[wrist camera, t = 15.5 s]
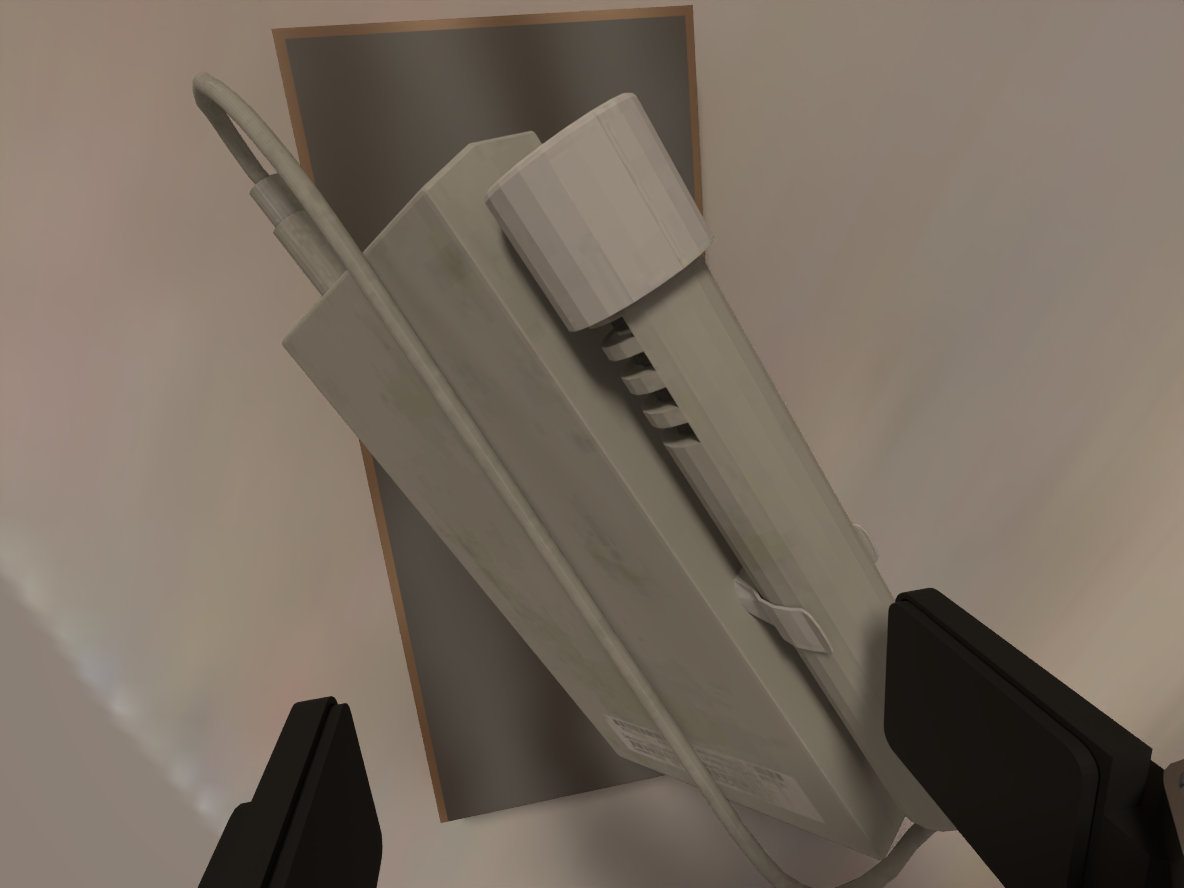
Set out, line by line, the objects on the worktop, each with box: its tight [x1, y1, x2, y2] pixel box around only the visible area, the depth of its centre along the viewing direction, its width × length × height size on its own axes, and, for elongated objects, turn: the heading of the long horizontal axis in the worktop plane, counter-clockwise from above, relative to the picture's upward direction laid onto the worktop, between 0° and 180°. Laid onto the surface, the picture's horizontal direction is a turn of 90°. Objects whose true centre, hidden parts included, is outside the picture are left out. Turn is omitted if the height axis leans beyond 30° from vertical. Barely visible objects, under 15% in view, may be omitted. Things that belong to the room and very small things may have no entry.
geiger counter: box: [193, 73, 957, 888], centre depth 17 cm, size 14×6×25 cm
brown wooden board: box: [272, 5, 705, 823], centre depth 25 cm, size 13×30×2 cm, turn 6°
